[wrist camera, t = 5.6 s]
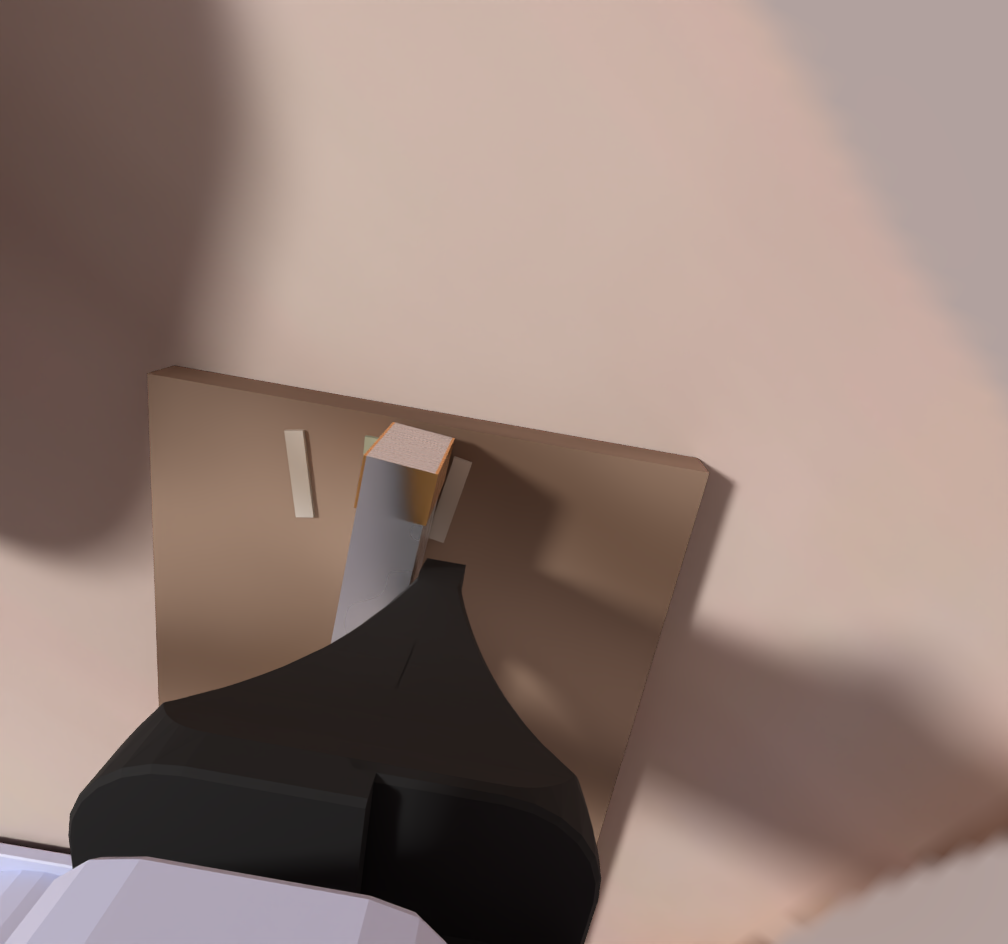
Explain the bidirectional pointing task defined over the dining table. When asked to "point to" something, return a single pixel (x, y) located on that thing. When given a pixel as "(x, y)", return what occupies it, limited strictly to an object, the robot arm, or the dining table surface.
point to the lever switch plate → (453, 538)
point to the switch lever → (391, 520)
